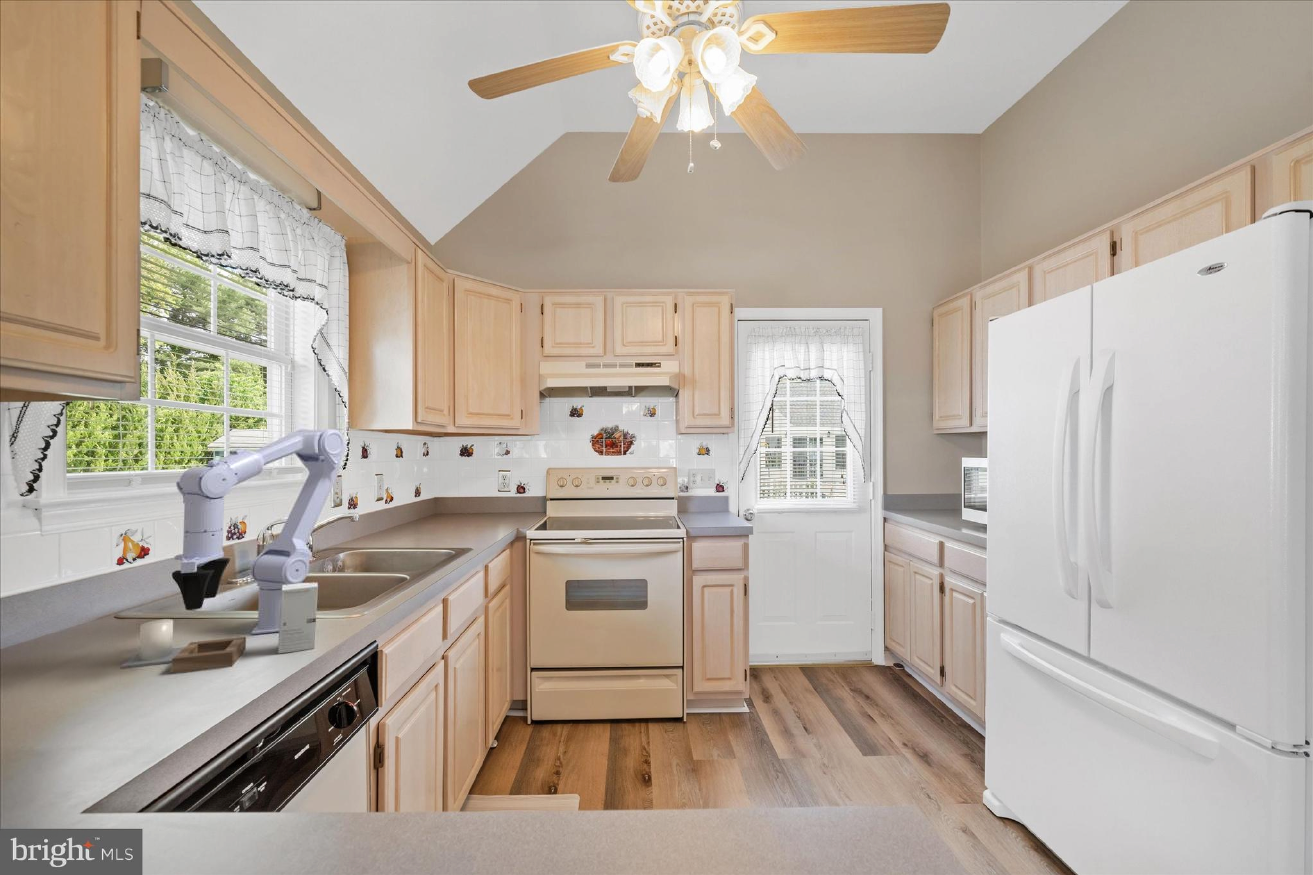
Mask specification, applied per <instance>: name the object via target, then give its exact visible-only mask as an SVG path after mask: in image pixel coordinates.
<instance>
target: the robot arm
mask: <svg viewBox="0 0 1313 875" xmlns="http://www.w3.org/2000/svg"><path fill="white" fill-rule="evenodd" d="M346 449H347V445H346V442H345V439H344V437H343V435H342V433H341V432H340V431H338V430H336V429H333V428H332V429H305V428H301V429H298V430H295V431H291V432H289V433H287V435H285V436H283V437H282V438H281V437H280V438H278V439H277V440H275V441H273V442H271V443H270V442H269V443H268V444H266V445H265V446H262V447H260V448H258V449H256V450H250V449H242V448H236V449H233V450H231V454H229V455H226V456H225V457H222V458H220V459H219V458H218V459H211V460H209V461H207V464H206V465H205V466H192V467H190V468H188V469H186V470H185V471H183V473H182V474H181V476H180V478H179V481H176V483H175V485H176V489H177V491H178V492H179V493H180V494H181V495H182V496H181V497H182V504H184V506H183V508H184V509H183V510H184V512H183V538H182V539H183V540H182V553H180V554H176V555H174V560H175V561H181V562H180V570H178V569H177V570H174V571H173V572H171V577H172V579H173V581H175V584H177V586H178V588H179V590H180V593H181V597H182V600H183V605H184V608H185V610H186V611H189V610H190V611H191V610H200V609H202V607H203V604H204V600H205V599H211V598H216V596H217V595H218V592H219V587H220V585H221V584H220V583H221V581H222V577H223V575H224V572H225V570H226V568H227V566H228V565H229V564H230V562H231V561H230V560H231V558H230V557H224V556H225V555H224V554H225V552H224V551H223V546H224V545H223V542H224V515H225V514H224V510H225V506H224V505H225V497H226V496H227V495H229V493H230V492H231V491H232V489H233V487H234V486H237V485H239V484H241V483H244V482H245V481H247V480H250V479H252V478H255V477H257V476H258V475H260V474H261V473H262V472H263V470H264V467H265V466H267V465H268V464H271V463H273V462H277V461H279V460H282V459H283V458H286V457H288V456H291V455H293V454H295V456H296V457H297V458H298V460H299V461H300V462H301V464H302V465H303V466H304V467H305V468H306V469H307V470H308V473H309V474H308V476H307V477H306V480H305V482H304V484H303V486H302V488H301V490H300V492H299V494H298V496H297V499H296V501H295V502H294V503H293V507H292V508H291V510H290V513H289V514H288V517H287V519H286V521H285V523H284V525H283V527H282V529H281V531H280V534H279V536H278V537H277V538H275V539H274V540H272V541H271V542H269V543H268V544H265V546H264V548H263V550H262V552H261V553H260V554H259V555H258V556H256V557H255V559H254V560H253V561H252V563H251V565H250V576H251V578H252V579H253V580H254V581H256V587H258V608H257V609H258V611H257V624H256V626H255V627H254V629H253V630H252V631H251V635H257V634H258V635H259V634H267V633H279V623H280V607H281V591H282V585H288V584H297V583H303V581H304V580H305V579H306V577H307V576H308V573H309V571H310V570H309V569H310V560H311V559H312V556H313V554H312V552H311V550H310V548H309V547H308V546H307V543H308V541H309V539H310V537H311V535H312V533H313V531H314V528H315V526H316V524H317V521H318V519H319V517H320V515H321V512H322V511H323V508H324V506H325V504H326V503H327V502H326V501H327V500H328V498H329V496H330V493H331V491H332V489H333V487H334V485H335V482H336V480H337V478H338V476H339V473H340V465H341V460H342V458H343V455H344V453H345V451H346Z"/></svg>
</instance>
